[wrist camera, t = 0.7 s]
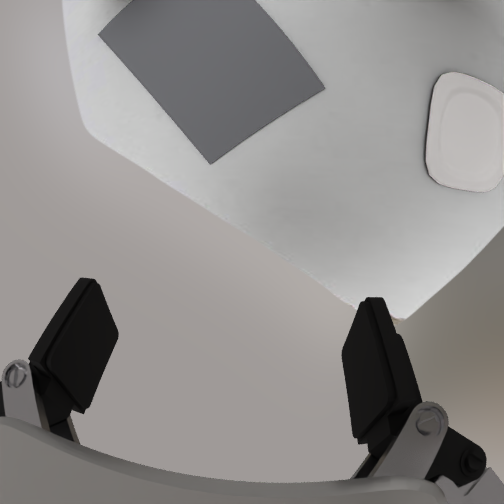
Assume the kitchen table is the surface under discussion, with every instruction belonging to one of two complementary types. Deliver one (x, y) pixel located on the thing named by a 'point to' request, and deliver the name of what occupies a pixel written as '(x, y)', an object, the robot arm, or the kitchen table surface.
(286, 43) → the mat
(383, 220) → the kitchen table surface
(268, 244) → the kitchen table surface
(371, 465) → the robot arm
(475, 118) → the plate
